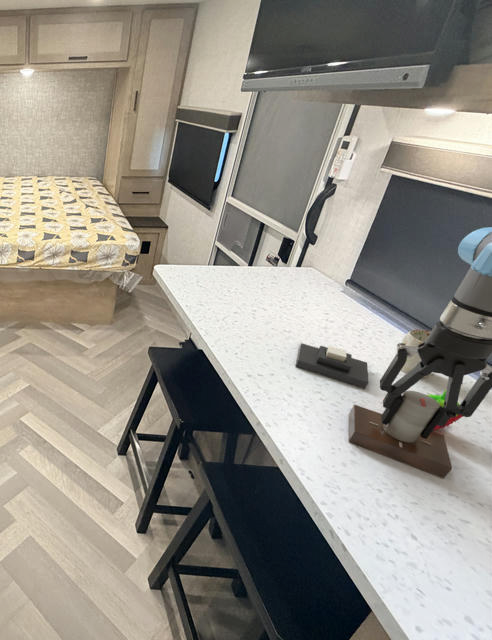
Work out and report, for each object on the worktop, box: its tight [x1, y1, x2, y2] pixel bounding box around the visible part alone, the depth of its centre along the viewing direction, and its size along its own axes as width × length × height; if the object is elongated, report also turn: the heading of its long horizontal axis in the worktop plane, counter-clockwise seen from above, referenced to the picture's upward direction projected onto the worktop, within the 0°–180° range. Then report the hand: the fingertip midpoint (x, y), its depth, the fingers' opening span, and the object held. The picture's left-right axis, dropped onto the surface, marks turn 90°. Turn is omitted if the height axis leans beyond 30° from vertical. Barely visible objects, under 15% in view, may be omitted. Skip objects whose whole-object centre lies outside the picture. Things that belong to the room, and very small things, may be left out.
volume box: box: [348, 404, 453, 479], centre depth 81 cm, size 14×10×3 cm
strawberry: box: [427, 389, 465, 431], centre depth 83 cm, size 6×7×10 cm
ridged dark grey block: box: [294, 342, 369, 390], centre depth 103 cm, size 14×10×4 cm
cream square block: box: [326, 345, 347, 362], centre depth 101 cm, size 4×4×2 cm
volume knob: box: [383, 390, 440, 443], centre depth 78 cm, size 5×5×9 cm
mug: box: [400, 329, 432, 379], centre depth 102 cm, size 8×13×10 cm, turn 163°
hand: (403, 426), depth 79 cm, fingers closed on volume knob, 5 cm apart
